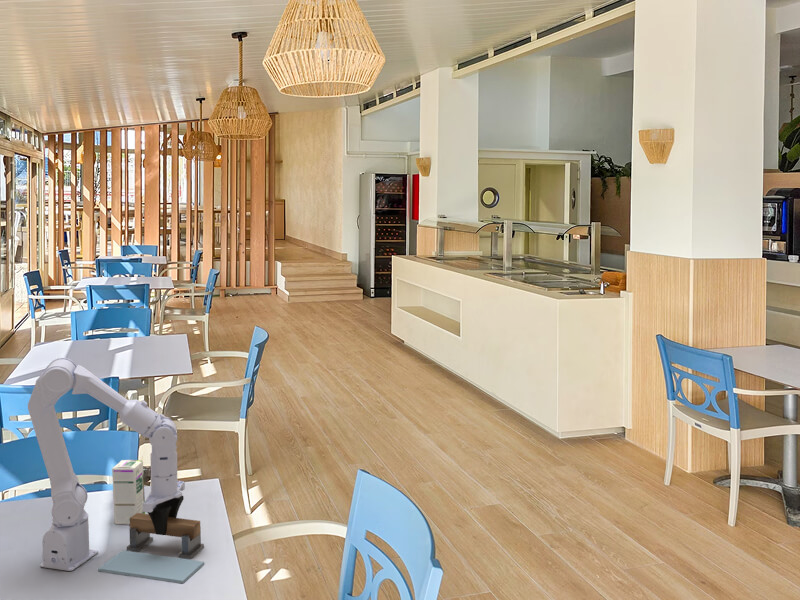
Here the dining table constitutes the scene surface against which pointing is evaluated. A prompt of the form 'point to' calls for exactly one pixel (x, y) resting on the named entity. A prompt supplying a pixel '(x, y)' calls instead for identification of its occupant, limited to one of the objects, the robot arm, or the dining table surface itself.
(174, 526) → the rail
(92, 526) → the dining table surface
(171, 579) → the mat
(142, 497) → the syrup box
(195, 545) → the bracket
